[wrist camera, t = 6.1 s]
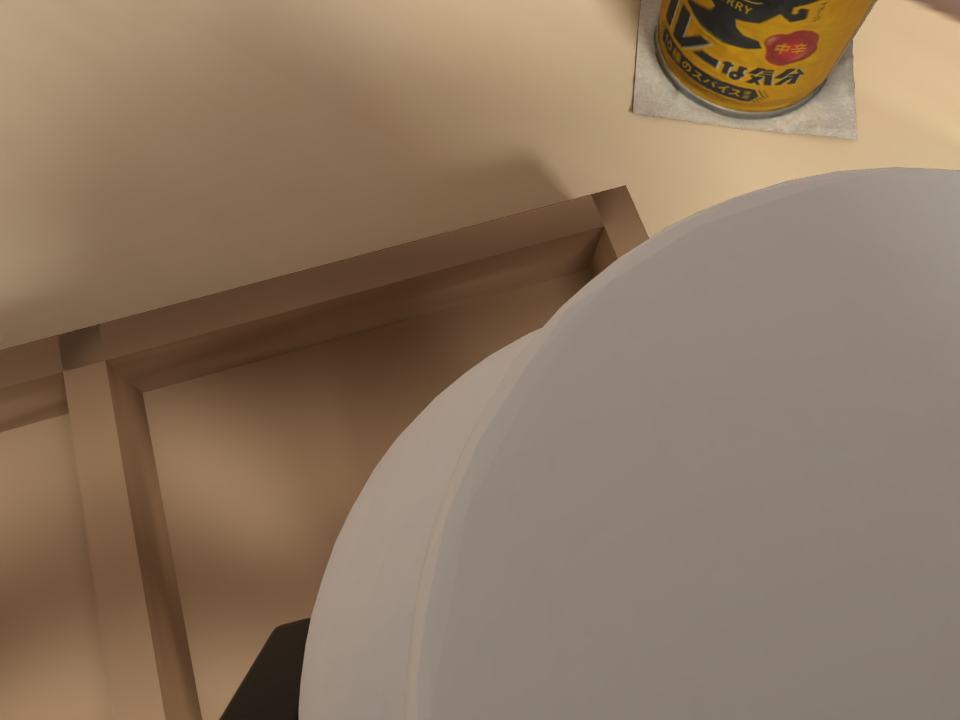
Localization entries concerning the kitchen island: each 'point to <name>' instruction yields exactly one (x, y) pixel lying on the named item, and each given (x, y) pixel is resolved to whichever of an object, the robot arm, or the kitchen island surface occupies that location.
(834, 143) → the kitchen island surface
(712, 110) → the condiment
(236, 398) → the walnut caddy
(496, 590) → the supplement bottle
